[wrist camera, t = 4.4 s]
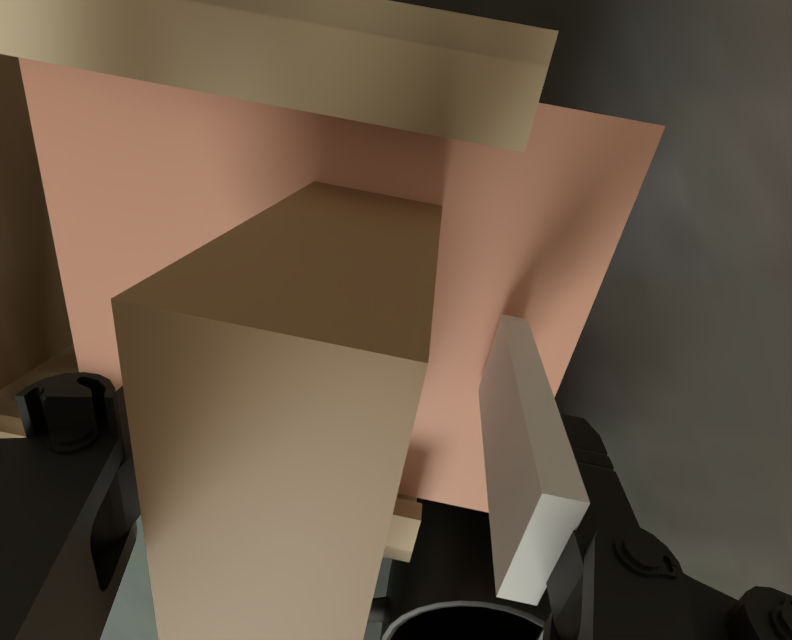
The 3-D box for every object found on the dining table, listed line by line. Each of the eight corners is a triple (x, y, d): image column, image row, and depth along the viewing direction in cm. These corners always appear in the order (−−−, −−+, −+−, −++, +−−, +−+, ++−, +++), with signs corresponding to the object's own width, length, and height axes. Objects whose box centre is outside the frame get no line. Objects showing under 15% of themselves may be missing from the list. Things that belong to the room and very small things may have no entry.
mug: (356, 402, 25) (308, 553, 17) (558, 456, 25) (612, 634, 17) (332, 499, 29) (283, 664, 21) (508, 546, 29) (532, 729, 21)
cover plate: (111, 409, 18) (-172, 664, 10) (47, 12, 12) (-839, -184, 4) (502, 491, 18) (546, 828, 9) (645, 124, 12) (1126, 178, 3)
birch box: (111, 331, 25) (-77, 458, 16) (61, -14, 18) (-331, -130, 9) (424, 395, 25) (409, 562, 16) (503, 67, 17) (559, 31, 8)
